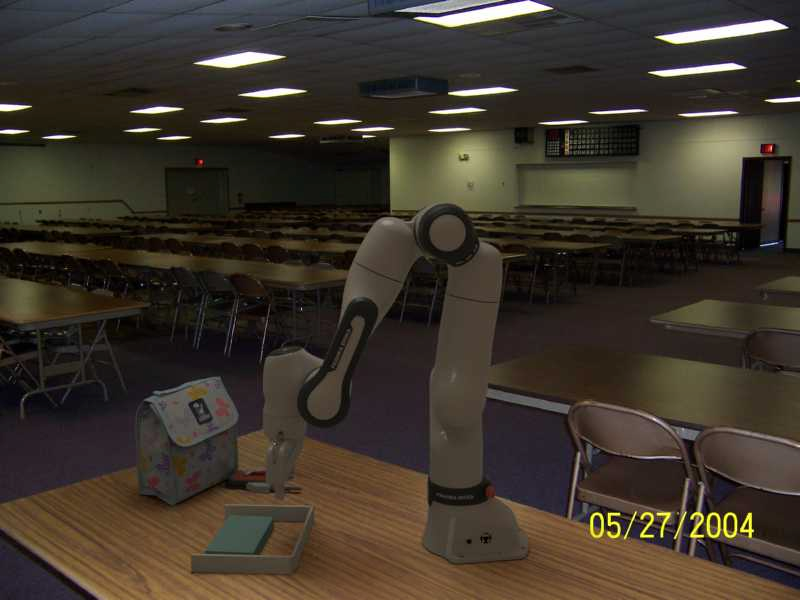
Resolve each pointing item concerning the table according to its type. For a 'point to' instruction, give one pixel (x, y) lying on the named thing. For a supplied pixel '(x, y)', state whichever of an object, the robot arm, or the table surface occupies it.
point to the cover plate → (241, 535)
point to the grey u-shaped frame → (259, 562)
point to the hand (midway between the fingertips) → (285, 488)
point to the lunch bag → (186, 440)
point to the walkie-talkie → (252, 481)
